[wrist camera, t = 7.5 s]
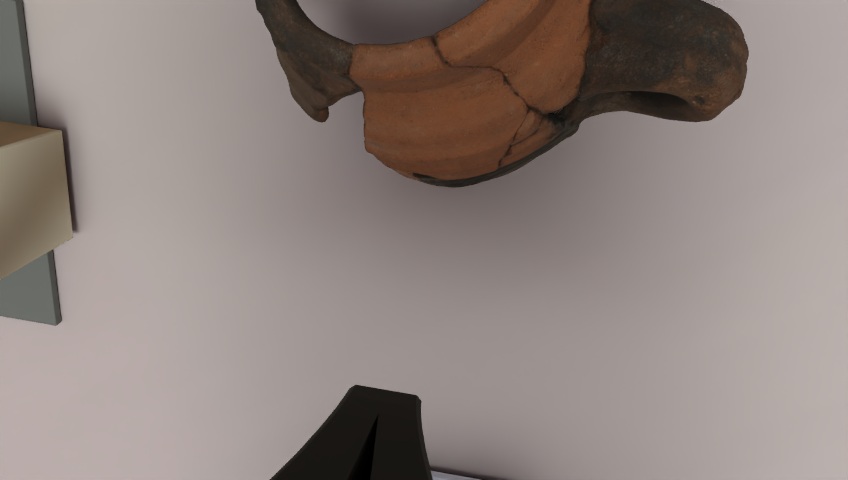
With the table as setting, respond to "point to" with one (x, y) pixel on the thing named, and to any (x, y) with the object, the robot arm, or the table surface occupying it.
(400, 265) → the table surface
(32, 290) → the rubber mat
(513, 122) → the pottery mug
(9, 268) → the walnut block
